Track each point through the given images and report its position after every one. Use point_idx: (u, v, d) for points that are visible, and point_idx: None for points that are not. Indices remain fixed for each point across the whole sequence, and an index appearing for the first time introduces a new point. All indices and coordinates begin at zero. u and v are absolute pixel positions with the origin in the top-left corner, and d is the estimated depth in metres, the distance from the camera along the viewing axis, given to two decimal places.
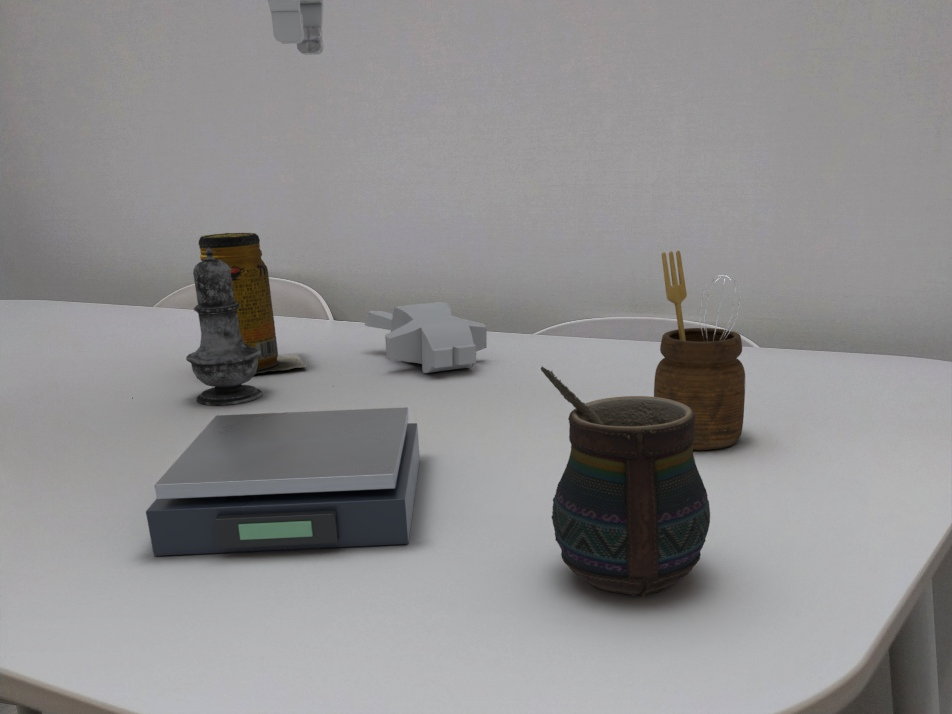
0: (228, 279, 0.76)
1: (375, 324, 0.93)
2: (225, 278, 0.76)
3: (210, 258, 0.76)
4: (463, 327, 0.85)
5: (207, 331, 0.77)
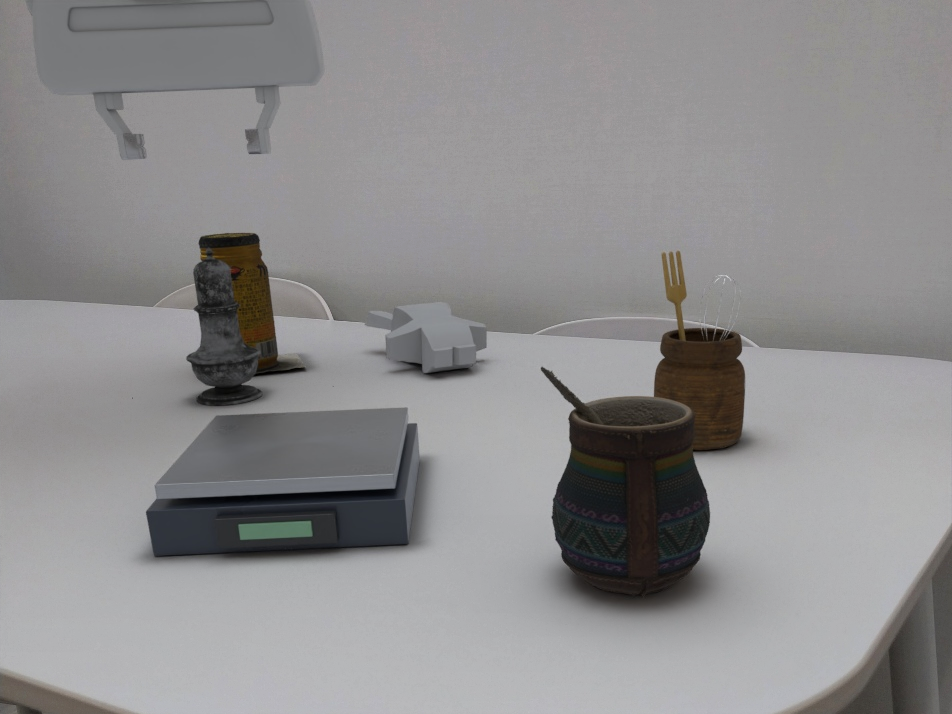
0: (228, 279, 0.76)
1: (375, 324, 0.93)
2: (225, 278, 0.76)
3: (210, 258, 0.76)
4: (463, 327, 0.85)
5: (207, 331, 0.77)
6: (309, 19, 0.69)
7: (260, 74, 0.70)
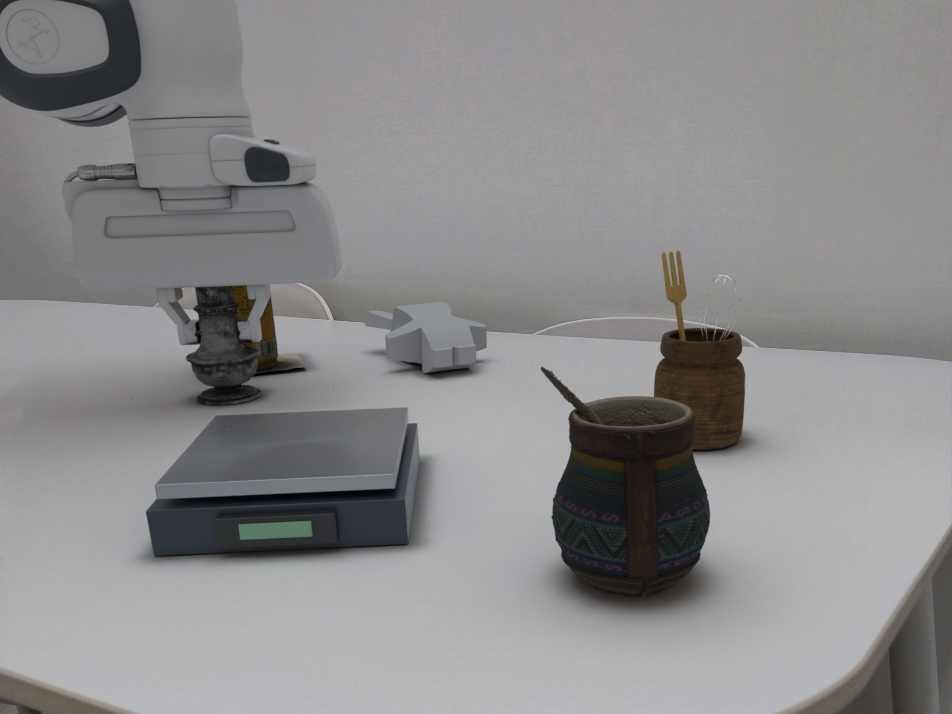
0: None
1: (375, 324, 0.93)
2: None
3: None
4: (463, 327, 0.85)
5: (207, 331, 0.77)
6: (329, 227, 0.74)
7: (282, 275, 0.75)
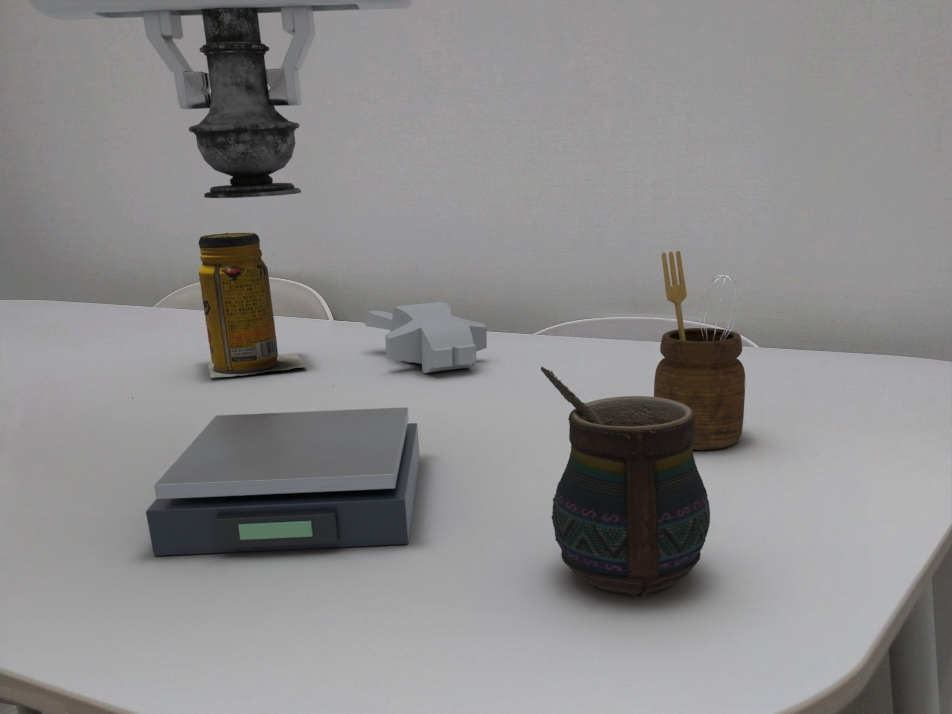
0: None
1: (375, 324, 0.93)
2: None
3: None
4: (463, 327, 0.85)
5: (220, 82, 0.51)
6: None
7: None
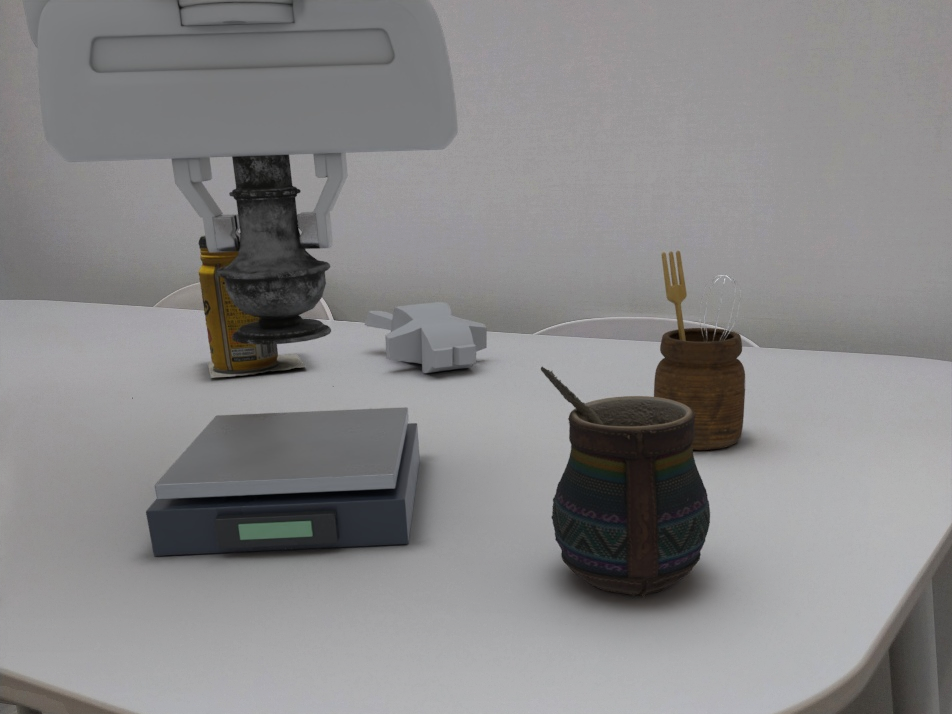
0: None
1: (375, 324, 0.93)
2: None
3: None
4: (463, 327, 0.85)
5: (250, 228, 0.49)
6: (447, 57, 0.46)
7: (371, 136, 0.48)
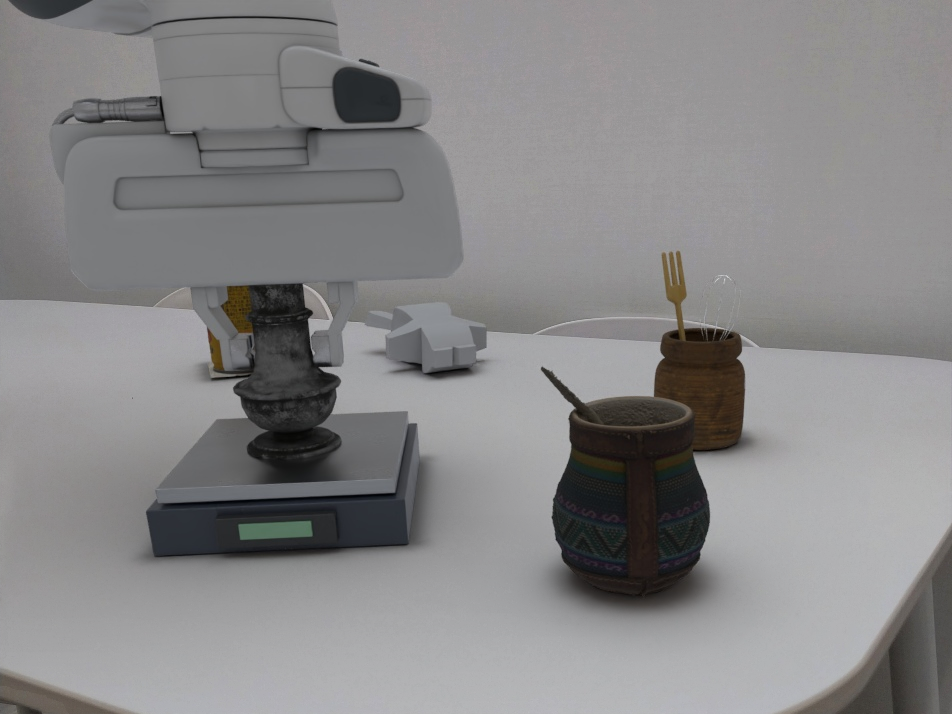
0: None
1: (375, 324, 0.93)
2: None
3: None
4: (463, 327, 0.85)
5: (265, 350, 0.52)
6: (454, 195, 0.49)
7: (381, 267, 0.50)
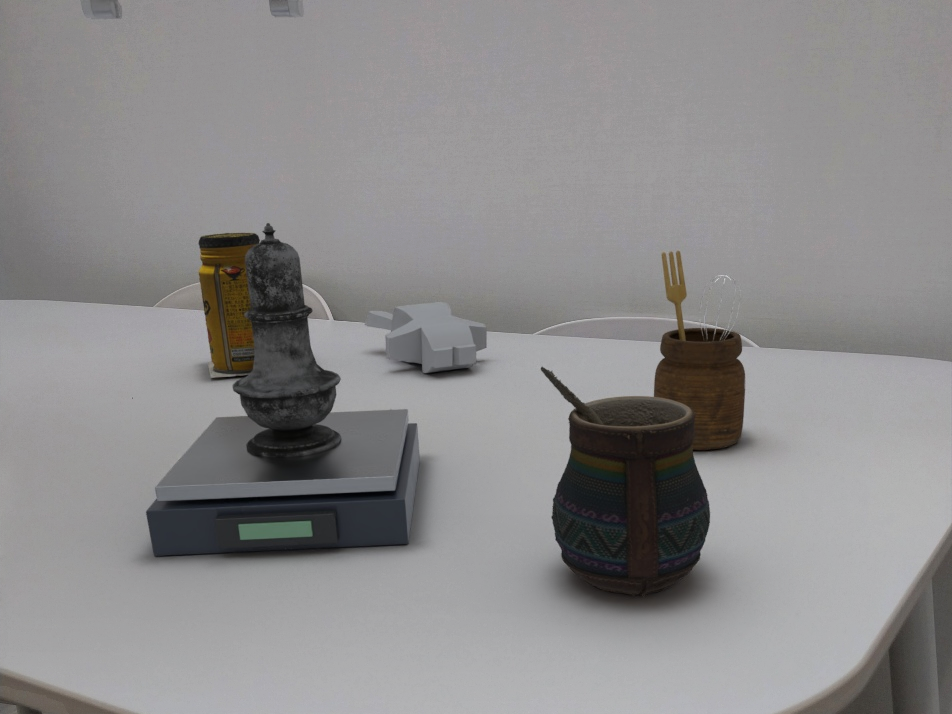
0: (297, 271, 0.51)
1: (375, 324, 0.93)
2: (293, 269, 0.51)
3: (271, 239, 0.51)
4: (463, 327, 0.85)
5: (265, 348, 0.52)
6: None
7: None
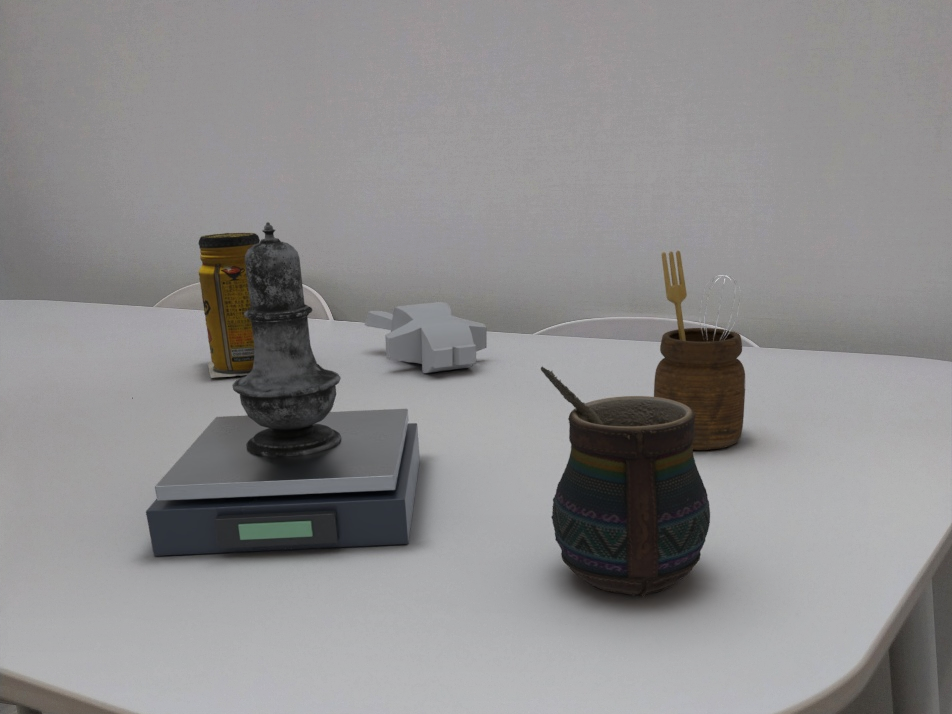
0: (297, 270, 0.51)
1: (375, 324, 0.93)
2: (293, 269, 0.51)
3: (270, 239, 0.51)
4: (463, 327, 0.85)
5: (265, 347, 0.52)
6: None
7: None
